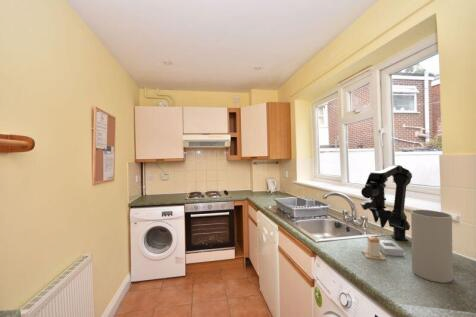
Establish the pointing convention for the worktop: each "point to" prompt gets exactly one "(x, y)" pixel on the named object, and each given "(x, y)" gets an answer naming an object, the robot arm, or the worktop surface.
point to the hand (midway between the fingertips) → (379, 224)
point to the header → (390, 248)
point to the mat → (373, 256)
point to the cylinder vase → (432, 245)
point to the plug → (373, 246)
